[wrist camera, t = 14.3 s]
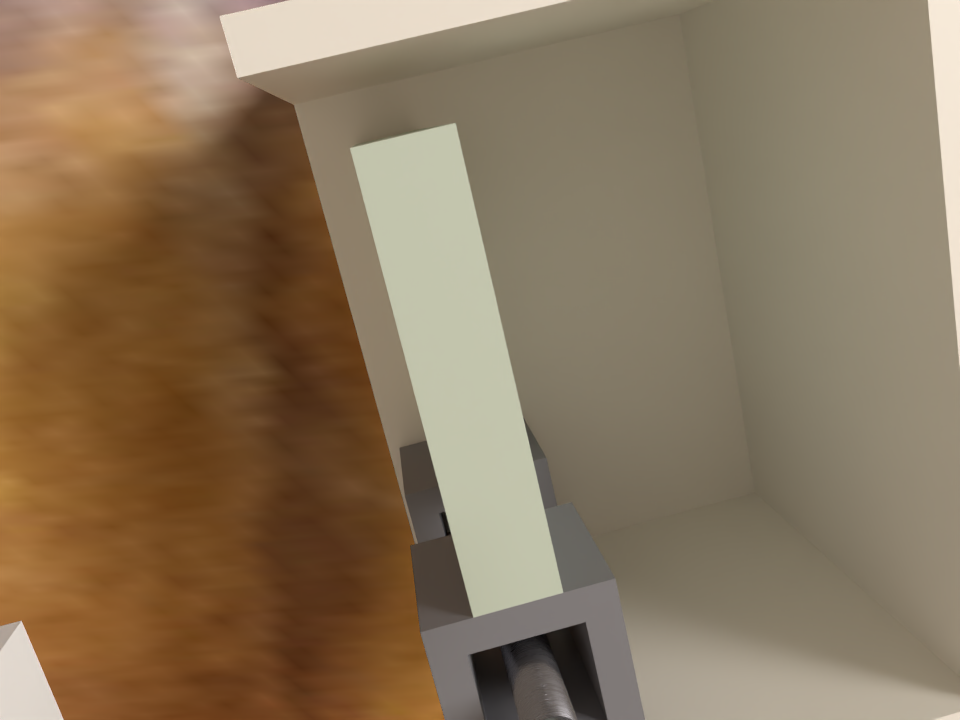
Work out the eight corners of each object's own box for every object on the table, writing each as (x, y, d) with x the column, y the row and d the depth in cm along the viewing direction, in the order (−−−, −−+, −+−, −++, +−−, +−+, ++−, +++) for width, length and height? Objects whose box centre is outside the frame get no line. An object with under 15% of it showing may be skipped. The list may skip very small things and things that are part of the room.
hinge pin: (455, 478, 37) (525, 744, 21) (487, 470, 37) (583, 727, 21) (462, 509, 37) (538, 793, 21) (495, 500, 37) (595, 776, 21)
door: (318, 152, 33) (287, 163, 19) (454, 120, 33) (516, 108, 20) (429, 559, 37) (466, 797, 24) (547, 527, 38) (650, 744, 24)
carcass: (285, 65, 33) (215, 0, 18) (691, -30, 34) (967, -170, 19) (431, 598, 39) (476, 902, 24) (773, 504, 40) (1032, 736, 25)
